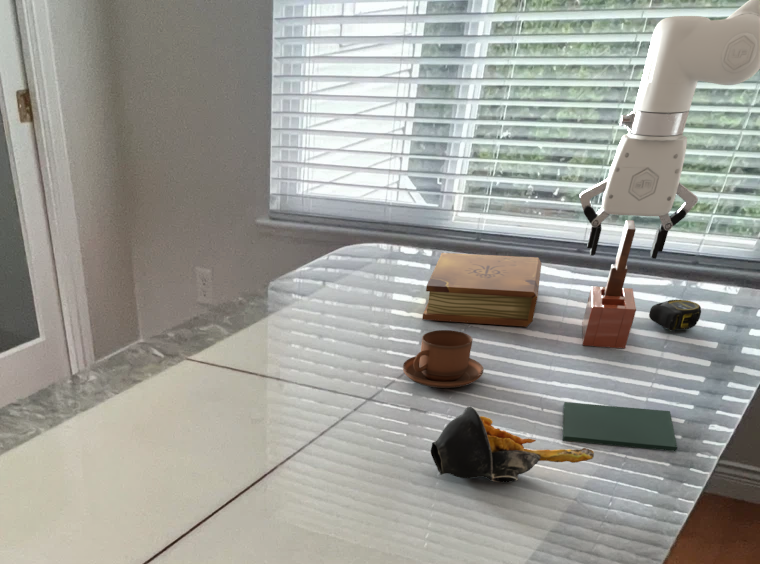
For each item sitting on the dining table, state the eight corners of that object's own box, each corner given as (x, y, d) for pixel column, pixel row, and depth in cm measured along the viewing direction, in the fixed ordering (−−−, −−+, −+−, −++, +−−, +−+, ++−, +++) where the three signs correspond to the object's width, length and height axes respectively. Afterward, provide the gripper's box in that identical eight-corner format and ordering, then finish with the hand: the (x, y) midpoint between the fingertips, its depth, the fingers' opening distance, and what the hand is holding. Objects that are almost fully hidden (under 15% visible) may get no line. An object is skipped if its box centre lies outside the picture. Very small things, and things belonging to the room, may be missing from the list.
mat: (668, 415, 117) (670, 411, 117) (675, 451, 109) (677, 447, 108) (563, 405, 121) (564, 401, 120) (562, 440, 112) (563, 436, 112)
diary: (531, 328, 145) (538, 292, 141) (422, 320, 150) (426, 285, 146) (535, 289, 161) (542, 256, 158) (437, 284, 166) (441, 251, 162)
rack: (622, 326, 145) (632, 288, 141) (625, 348, 137) (636, 309, 133) (582, 323, 147) (591, 286, 143) (582, 345, 138) (592, 306, 134)
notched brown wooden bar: (609, 325, 145) (637, 220, 134) (610, 337, 141) (639, 229, 130) (594, 324, 146) (622, 219, 135) (595, 336, 142) (623, 228, 131)
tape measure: (644, 323, 146) (650, 300, 143) (680, 319, 146) (687, 296, 144) (666, 336, 141) (673, 312, 138) (703, 332, 141) (711, 308, 139)
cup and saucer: (460, 401, 123) (467, 357, 119) (387, 384, 128) (391, 342, 124) (494, 375, 130) (502, 333, 126) (423, 360, 135) (429, 320, 131)
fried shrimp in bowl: (417, 423, 106) (558, 367, 104) (441, 506, 110) (578, 455, 107) (432, 424, 98) (586, 364, 95) (457, 515, 101) (607, 459, 98)
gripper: (595, 128, 123) (565, 258, 135) (724, 130, 119) (682, 264, 131) (594, 120, 129) (566, 246, 140) (718, 122, 125) (678, 251, 136)
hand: (622, 254), depth 136 cm, fingers open, 8 cm apart
